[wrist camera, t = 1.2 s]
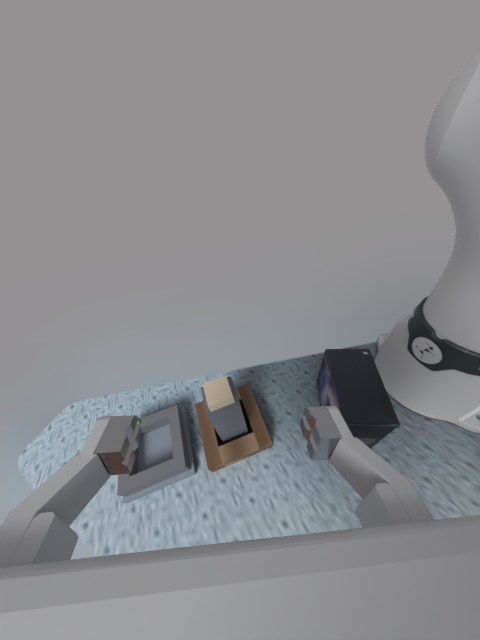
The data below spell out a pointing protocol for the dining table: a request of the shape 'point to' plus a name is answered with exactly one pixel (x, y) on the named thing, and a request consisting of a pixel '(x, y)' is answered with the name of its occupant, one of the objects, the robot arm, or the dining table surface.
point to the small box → (357, 393)
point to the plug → (224, 409)
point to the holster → (239, 447)
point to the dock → (159, 454)
